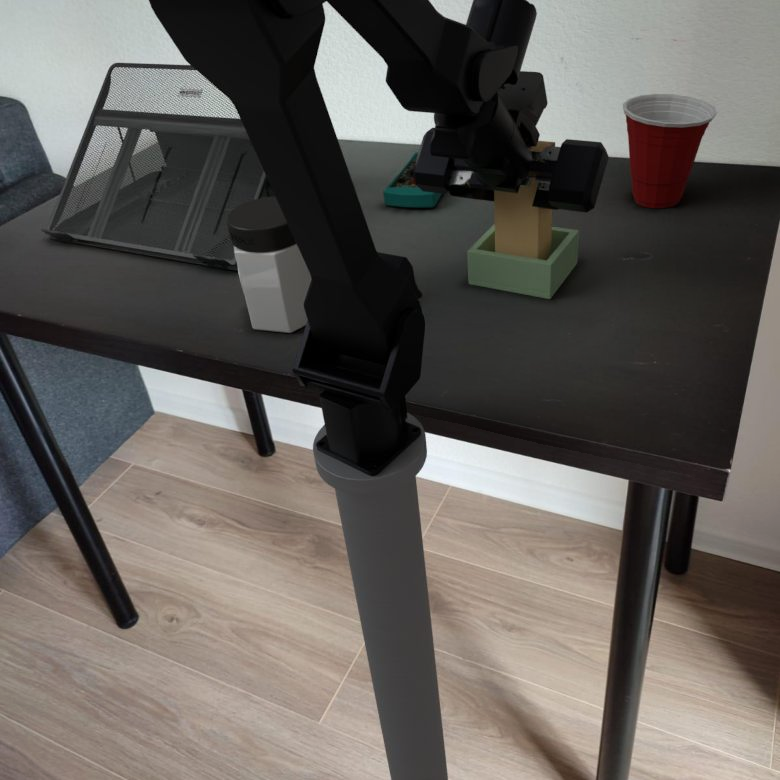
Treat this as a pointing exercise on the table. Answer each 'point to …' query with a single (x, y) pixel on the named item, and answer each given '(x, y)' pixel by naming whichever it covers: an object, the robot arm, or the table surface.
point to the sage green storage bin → (523, 265)
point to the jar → (269, 266)
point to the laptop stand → (161, 173)
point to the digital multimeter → (408, 190)
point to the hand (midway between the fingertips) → (528, 201)
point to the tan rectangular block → (523, 220)
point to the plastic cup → (664, 144)
